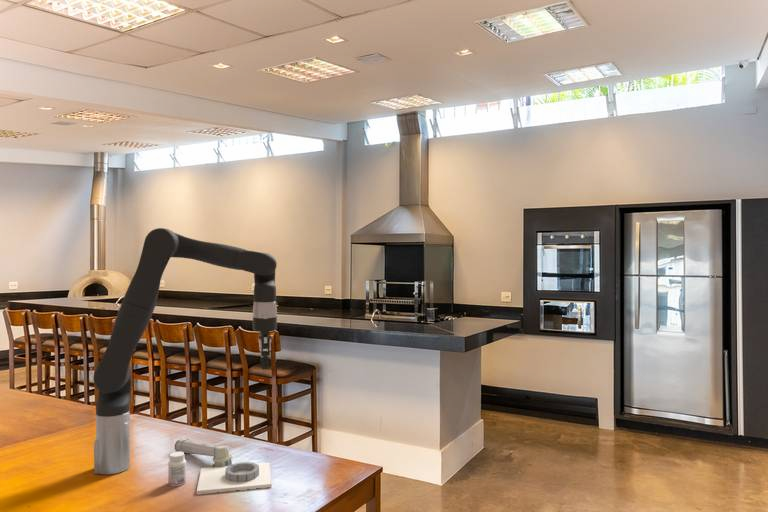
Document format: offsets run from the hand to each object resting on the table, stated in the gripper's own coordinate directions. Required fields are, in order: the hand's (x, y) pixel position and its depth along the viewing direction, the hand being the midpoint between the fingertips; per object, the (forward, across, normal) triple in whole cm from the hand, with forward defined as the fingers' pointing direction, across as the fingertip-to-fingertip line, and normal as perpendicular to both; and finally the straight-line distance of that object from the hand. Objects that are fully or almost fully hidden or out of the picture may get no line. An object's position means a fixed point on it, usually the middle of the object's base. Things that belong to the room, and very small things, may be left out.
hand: (264, 366), depth 181 cm
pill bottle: (+29, +15, -25) cm, 41 cm away
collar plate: (+29, +16, -9) cm, 34 cm away
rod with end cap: (+30, -2, -19) cm, 35 cm away
